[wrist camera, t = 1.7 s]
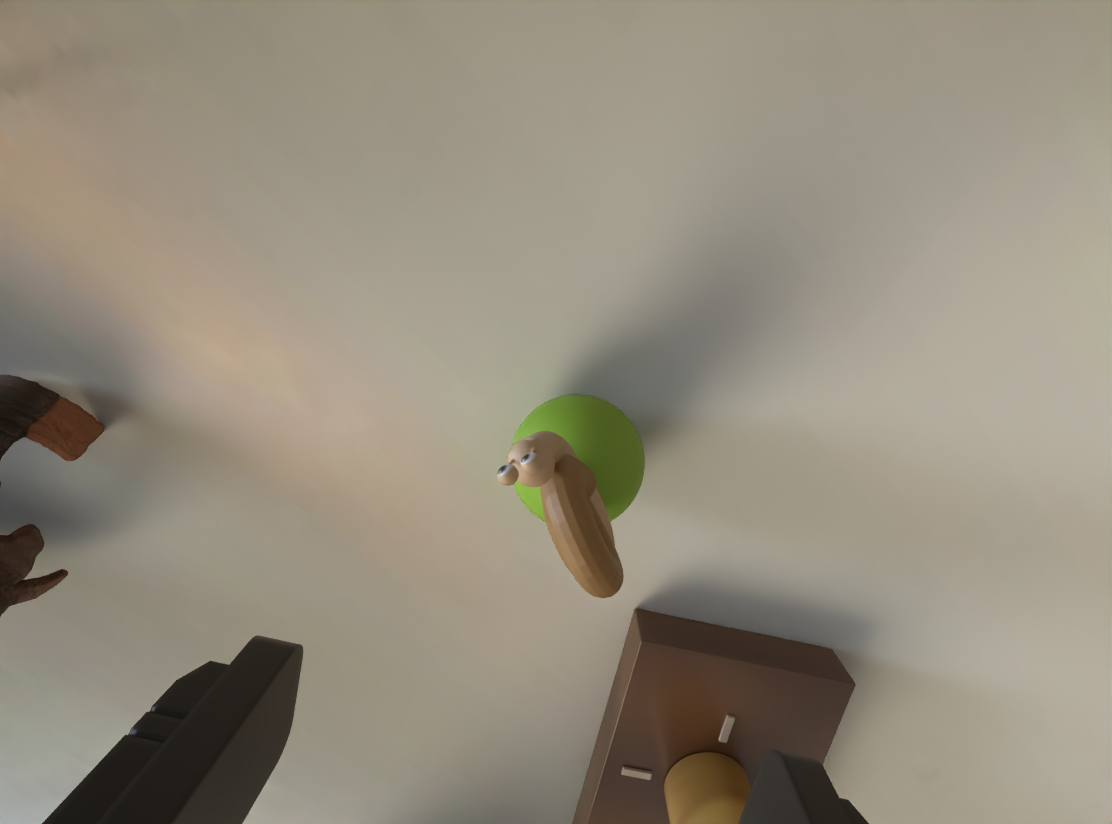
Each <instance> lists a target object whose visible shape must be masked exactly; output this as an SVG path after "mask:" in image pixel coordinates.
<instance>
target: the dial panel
mask: <svg viewBox="0 0 1112 824" xmlns="http://www.w3.org/2000/svg"><path fill="white" fill-rule="evenodd" d="M854 687H855V682H854V681H853V679H852V678H851V676H850V675H849V673H848V672H847V670H846V669H845V667H844V666H843V665H842V663H841V662H840V660H839V659H838V657H837V656H836V654H835V653H834V651H833V650H832V649H829V648H824V647H819V646H814V645H809V644H804V643H799V642H795V641H790V640H785V639H780V638H775V637H770V636H765V635H761V634H756V633H751V632H746V631H741V630H736V629H731V628H727V627H722V626H717V625H712V624H707V623H702V622H698V621H693V620H688V619H683V618H678V617H673V616H668V615H664V614H659V613H654V612H649V611H644V610H639V609H635V610H634V613H633V617H632V620H631V624H630V627H629V631H628V634H627V637H626V641H625V644H624V648H623V651H622V655H621V658H620V662H619V665H618V668H617V672H616V675H615V679H614V682H613V686H612V689H611V693H610V696H609V699H608V703H607V706H606V710H605V713H604V717H603V720H602V723H601V727H600V730H599V734H598V737H597V741H596V744H595V748H594V751H593V754H592V758H591V761H590V765H589V768H588V772H587V775H586V779H585V782H584V785H583V789H582V792H581V796H580V799H579V803H578V806H577V809H576V813H575V816H574V820H573V823H572V824H670V821H669V816H668V810H667V805H666V799H665V794H664V783H665V779H666V776H667V774H668V773H669V771H670V769H671V768H672V767H673V766H674V765H675V764H676V763H677V762H679V761H680V760H682V759H683V758H685V757H688V756H690V755H693V754H697V753H703V752H713V753H719V754H723V755H726V756H728V757H730V758H732V759H734V760H735V761H736V762H737V763H739V764H740V765H741V767H742V768H743V769H744V771H745V772H746V775H747V777H748V780H749V783H750V786H751V789H752V786H753V783H754V781H755V778H756V776H757V773H758V771H759V768H760V766H761V763H762V760H763V758H764V756H765V754H766V753H767V752H768V751H769V750H771V749H775V750H780V751H784V752H789V753H793V754H798V755H803V756H807V757H812V758H815V759H817V760H818V761H819V762H820V763H821V764H823V762H824V759H825V757H826V755H827V752H828V750H829V747H830V745H831V743H832V740H833V738H834V735H835V733H836V730H837V728H838V726H839V723H840V721H841V718H842V716H843V714H844V711H845V709H846V706H847V704H848V702H849V699H850V697H851V694H852V692H853V690H854Z"/></svg>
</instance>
